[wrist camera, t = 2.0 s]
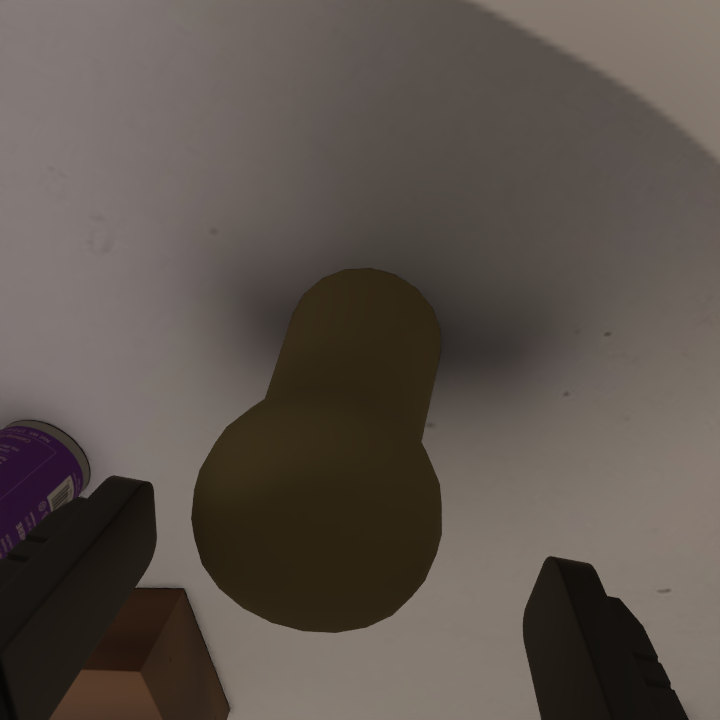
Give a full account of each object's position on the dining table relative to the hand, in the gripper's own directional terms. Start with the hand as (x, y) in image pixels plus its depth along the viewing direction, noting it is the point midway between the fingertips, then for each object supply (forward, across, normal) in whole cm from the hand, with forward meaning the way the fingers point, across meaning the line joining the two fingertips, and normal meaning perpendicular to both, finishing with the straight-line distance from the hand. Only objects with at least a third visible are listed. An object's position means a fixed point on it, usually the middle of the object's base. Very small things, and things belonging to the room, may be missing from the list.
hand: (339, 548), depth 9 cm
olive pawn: (+10, +1, 0) cm, 10 cm away
